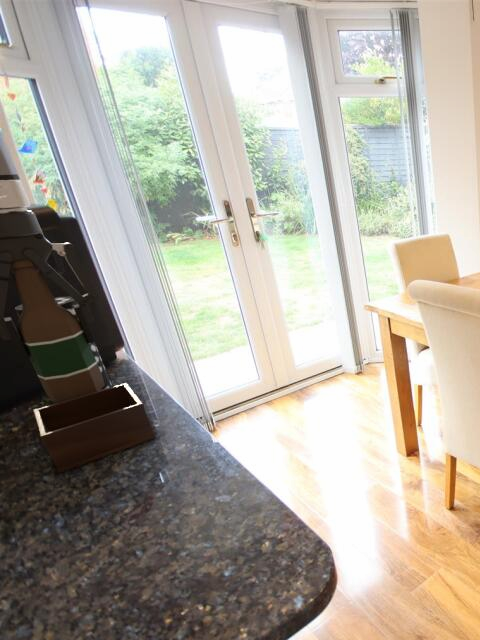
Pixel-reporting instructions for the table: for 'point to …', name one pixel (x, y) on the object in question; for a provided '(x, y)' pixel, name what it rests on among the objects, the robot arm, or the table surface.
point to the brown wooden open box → (93, 426)
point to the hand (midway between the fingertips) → (59, 348)
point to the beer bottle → (54, 339)
